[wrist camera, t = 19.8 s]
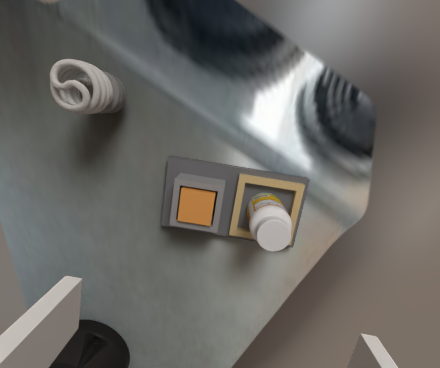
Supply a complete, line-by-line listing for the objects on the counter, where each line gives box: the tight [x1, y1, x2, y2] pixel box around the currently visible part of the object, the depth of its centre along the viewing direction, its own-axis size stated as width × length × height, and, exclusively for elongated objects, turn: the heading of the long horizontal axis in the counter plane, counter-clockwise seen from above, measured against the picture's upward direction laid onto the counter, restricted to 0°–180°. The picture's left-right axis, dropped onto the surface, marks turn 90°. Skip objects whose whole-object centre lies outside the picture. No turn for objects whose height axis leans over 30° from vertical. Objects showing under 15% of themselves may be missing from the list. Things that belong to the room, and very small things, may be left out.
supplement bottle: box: [247, 193, 292, 252], centre depth 34 cm, size 5×5×10 cm
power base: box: [161, 156, 309, 247], centre depth 38 cm, size 21×11×6 cm, turn 81°
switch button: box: [177, 186, 216, 226], centre depth 37 cm, size 5×5×4 cm
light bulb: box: [50, 59, 126, 114], centre depth 32 cm, size 6×6×12 cm
